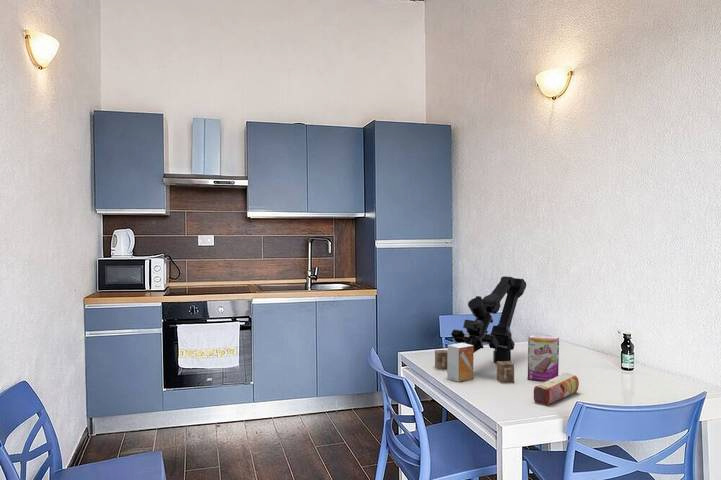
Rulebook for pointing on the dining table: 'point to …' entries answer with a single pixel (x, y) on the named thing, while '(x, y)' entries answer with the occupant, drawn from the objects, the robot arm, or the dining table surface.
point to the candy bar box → (543, 357)
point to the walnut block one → (441, 359)
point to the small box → (460, 362)
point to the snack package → (556, 388)
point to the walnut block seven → (505, 372)
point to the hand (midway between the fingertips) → (466, 356)
